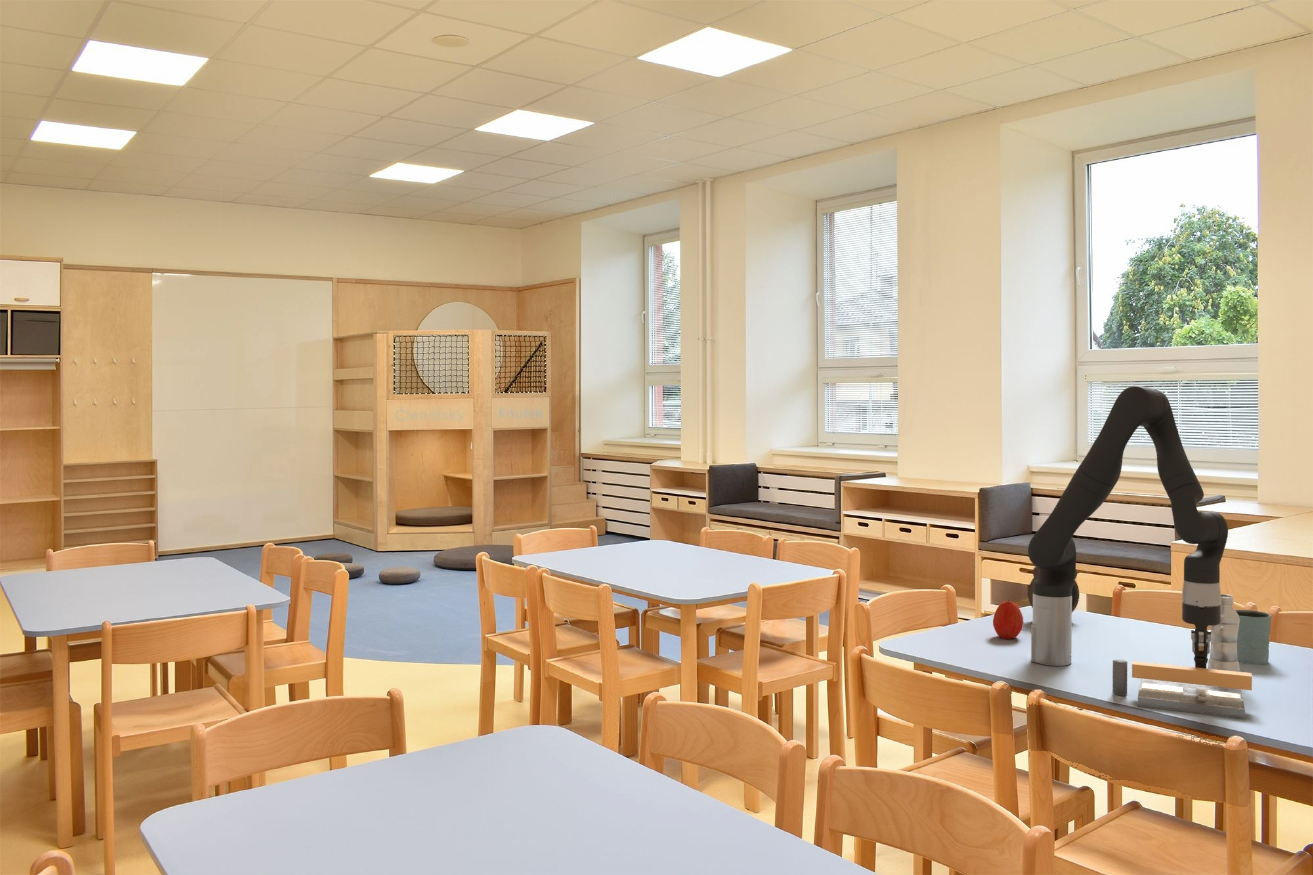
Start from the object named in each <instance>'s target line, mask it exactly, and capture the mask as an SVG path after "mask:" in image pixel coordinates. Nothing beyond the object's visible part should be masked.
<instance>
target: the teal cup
mask: <svg viewBox="0 0 1313 875" xmlns="http://www.w3.org/2000/svg"><path fill="white" fill-rule="evenodd" d="M1235 611H1236V612H1237V614H1238V615H1239V618H1240V623H1239V629H1238V635H1237V655H1238V662H1239V664H1240V663H1241V664H1248V665H1266V664H1268V663H1269V658H1270V650H1269V648H1270V643H1271V641H1270V635H1271V626H1272V624H1271V623H1272V614H1270V613H1268V612H1266V611H1265V612H1264V611H1258V610H1248V609H1247V610H1246V609H1235Z"/></svg>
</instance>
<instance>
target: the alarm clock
mask: <svg viewBox="0 0 1313 875" xmlns="http://www.w3.org/2000/svg"><path fill="white" fill-rule="evenodd" d="M1039 571H1040V568H1039V567H1037V566H1035V565H1034V567H1033V569H1032V575H1033V578H1032V580H1031V581H1030V582H1029V586H1028V592H1027V597H1028V602H1029V605H1030V606H1031V608H1032V609H1033V583H1034V581H1035V580H1036V579H1037V577H1038V575H1039ZM1077 576H1078V570H1077V569H1076V573H1075V579H1077ZM1079 601H1080V588H1079V586H1078V583H1077V581H1076V580H1075V582H1074V585H1073V588H1072V613H1073V612H1074V611H1075V610H1076V608H1077V607H1078V604H1079Z"/></svg>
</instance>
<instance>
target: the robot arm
mask: <svg viewBox="0 0 1313 875" xmlns="http://www.w3.org/2000/svg"><path fill="white" fill-rule="evenodd" d="M1171 406H1172V405H1171V403H1170V401H1169V399H1168V396H1167V395H1166V394H1165V393H1164V392H1162V391H1161V390H1158V389H1156V388H1152V387H1148V386H1147V387H1146V386H1142V385H1131V386H1128V387H1126V388H1124V389H1123V390H1122V391H1121V393H1119V395H1118V396H1117V397H1116V400H1115V401H1114V402H1113V405H1112V408H1111V409H1110V411H1109V413H1108V416H1107V418H1106V420H1105V422H1104V424H1103V426H1102V427H1101V429H1100V432H1099V433H1098V435H1097V437H1096V439H1095V440H1094V442H1093V444H1092V445H1091V447H1090V449H1089V450H1088V452H1087V453H1086V455H1085V457H1084V458H1083V460H1082V462H1080V464H1079V466H1078V467H1077V469H1076V470H1075V472H1074V474H1073V475H1072V477H1071V479H1070V481H1069V482H1068V484H1067V486H1066V487H1065V489H1064V491H1063V493H1062V494H1061V496H1060V498H1059V499H1058V501H1057V503H1056V505H1055V506H1054V509H1053V510H1052V512H1051V513H1050V515H1049V516H1048V517H1047V519H1046V520H1044V522H1043V524H1042V525H1041V526H1040V527H1039V529H1037V531H1036V533H1034V535H1033V536H1032V537H1031V538H1030V540H1029V543H1028V547H1027V555H1028V558H1029V560H1030V562H1031V564H1032V565H1033V566H1034V567H1035V566H1037V567H1039V568H1040V571H1039V575H1038V577H1037V579H1036V580H1035V581H1034V583H1033V608H1032V623H1031V627H1030V628H1031V629H1030V630H1031V631H1030V634H1031V636H1030V639H1031V640H1030V641H1031V642H1030V645H1031V646H1030V662H1031V663H1037V664H1041V665H1046V666H1055V667H1056V666H1057V667H1058V666H1060V667H1061V666H1068V665H1071V664H1072V656H1073V653H1072V650H1073V649H1072V648H1073V647H1072V646H1073V645H1072V644H1073V643H1072V642H1073V641H1072V638H1073V637H1072V634H1073V632H1072V631H1073V629H1072V627H1073V626H1072V625H1073V624H1072V623H1073V612H1072V588H1073V585H1074V582H1075V581H1076V578H1075V573H1076V570H1077V547H1076V543H1075V541H1074V539H1073V537H1074V535H1075V533H1076V532H1077V530H1078V529H1079V527H1081V525H1082V524H1083V523H1084V522H1085V521H1087V520H1088V519H1089V517H1091V516H1092V515H1093V514H1095V512H1096V511H1097V510H1098V509H1099V508H1100V507H1101V506H1102V505H1103V503H1104V502H1105V501H1106V500H1107V498H1108V497H1109V496H1110V494H1111V492H1112V491H1113V489H1114V488H1115V486H1116V484H1117V483H1118V481H1119V479H1120V477H1121V472H1122V467H1123V459H1124V458H1123V457H1124V452H1125V449H1126V447H1127V445H1128V443H1129V441H1130V439H1131V438H1132V437H1133V435H1134V434H1135V432H1136V430H1137V429H1138V428H1139V427H1143V429H1144V430H1145V431H1146V432H1147V433H1148V434H1147V435H1148V436H1149V437H1150V439H1151V441H1152V443H1153V445H1154V448H1155V452H1156V466H1157V472H1158V476H1159V479H1160V481H1161V484H1162V486H1163V488H1164V490H1165V492H1166V495H1167V497H1168V499H1169V501H1170V505H1171V508H1170V509H1171V513H1172V519H1173V525H1174V529H1175V532H1176V534H1177V535H1178V537H1179V538H1180V539H1181V540H1182V541H1183V542H1184V543H1186V544H1190V545H1197V546H1196V549H1195V550H1194V552H1192V553H1189V554H1188V555H1186V556H1185V558H1184V562H1183V583H1182V592H1181V594H1182V595H1181V597H1182V598H1181V600H1182V606H1181V609H1182V610H1181V612H1182V613H1181V615H1182V616H1181V619H1182V621H1183V622H1184V623H1186V624H1189V625H1194V626H1195V627H1194V628H1193V629H1190V639H1191V641H1192V642H1191V645H1192V646H1191V649H1192V650H1191V651H1192V653H1193V655H1194V656H1193V661H1194V667H1196V668H1206V669H1207V665H1208V662H1209V658H1208V656H1209V655H1210V649H1211V631H1210V630H1208V627H1209V625H1211V626H1215V625H1218V624H1220V622H1221V594H1222V593H1221V586H1220V584H1221V583H1220V579H1221V578H1220V572H1221V571H1220V566H1221V565H1220V564H1221V562H1222V558H1223V557H1224V556H1223V555H1224V551H1225V549H1226V545H1227V541H1228V538H1229V527H1228V523H1227V519H1225V517H1224V516H1223V514H1221V513H1220V512H1217V511H1212V510H1211V511H1199V510H1198V509H1197V508H1198V507H1197V504H1198V503H1200V502H1201V501H1202V500H1203V499H1204V495H1205V493H1204V490H1203V487H1202V486H1201V483H1200V481H1199V479H1198V477H1197V475H1196V473H1195V471H1194V469H1193V466H1192V465H1191V462H1190V460H1189V458H1188V456H1187V453H1186V451H1185V449H1184V448H1185V447H1184V445H1183V442H1182V439H1181V436H1180V434H1179V429H1178V428H1177V424H1176V420H1175V417H1174V413H1173V408H1172V407H1171Z"/></svg>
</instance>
